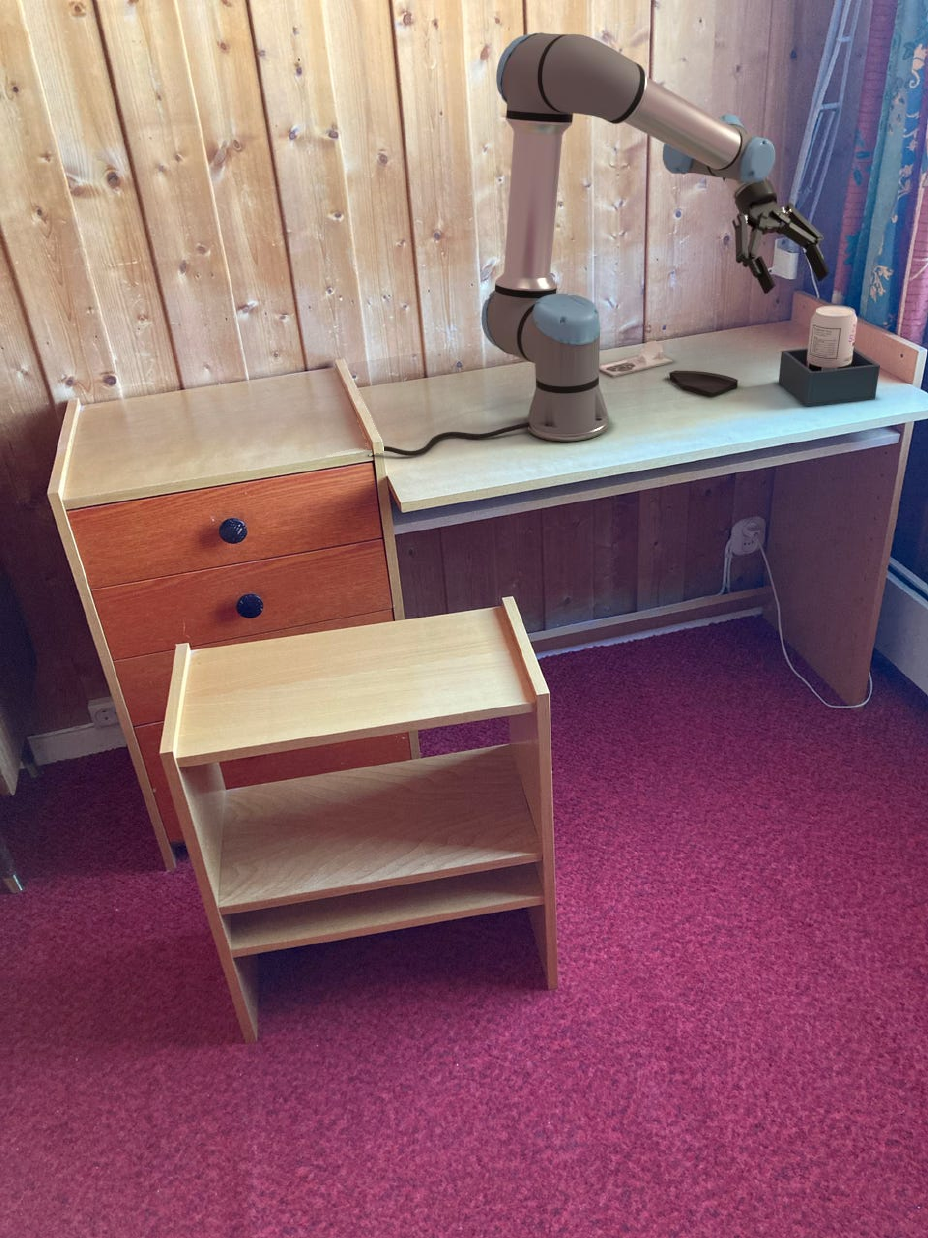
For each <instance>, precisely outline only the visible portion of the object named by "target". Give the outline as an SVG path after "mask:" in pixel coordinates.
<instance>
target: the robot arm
mask: <svg viewBox="0 0 928 1238" xmlns="http://www.w3.org/2000/svg"><path fill="white" fill-rule="evenodd" d="M495 73H496V75H495V76H496V77H495V80H496V81H495V82H496V88H497V91H498V94H499V95H500V96H501V98H502V101H503V102H504V103H505V104H506V113H505V121H506V122H507V124H508V125H509V126H510V127H511V128H512V131H513V138H512V149H511V150H512V153H511V166H510V178H509V179H510V182H509V193H508V206H507V222H506V237H505V238H506V239H505V250H504V264H503V272H502V274H501V275H499V276H498V277H497V278H496V279H495V280H494V281H495V282H494V290H493V291H491V293H490V294H488V298H487V299H485V301H484V303H483V306H482V308H481V317H480V319H481V328H482V330H483V333H484V335H485V337H486V339H487V340H488V341H489V342H490V344H492V345H493V346H494V347H496V348H498V349H499V350H501V351H502V352H503V353H505V354H509V355H511V356H515V357H517V358H520V359H522V360H525V361H527V362H529V363H532V364H534V365H535V366H534V367H535V368H534V369H535V389H534V390H535V391H534V394H533V396H532V399H531V403H530V407H529V410H528V414H527V421H526V422H522V423H518V424H515V425H510V426H505V427H502V428H499V429H496V430H492V431H488V432H482V433H470V432H462V431H446V432H442V433H439V434H436V435H435V436H434V437H432V438H431V439H430V441H429V442H428V443H427V444H426V445H425V446H423V447H422V448H419V449H415V450H407V449H401V448H397V447H394V446H387V445H383V446H384V451H383V452H388V453H393V454H397V455H401V456H405V457H414V456H418V455H423V454H424V453H426V452H428V451H429V450H430V449H431V448H432V447H433V446H434V445H435V443H436V442H438V441H439V440H443V439H445V438H453V437H454V438H457V437H458V438H464V439H472V440H473V439H474V440H477V439H478V440H479V439H481V440H482V439H488V438H492V437H496V436H499V435H502V434H506V433H509V432H513V431H517V430H522V429H525V428H527V430H528V433H530V434H532V435H533V436H534V437H537V438H539V439H542V440H546V441H550V442H551V441H552V442H560V443H561V442H563V443H564V442H565V443H567V442H579V441H585V440H589V439H593V438H595V437H598V436H600V435H602V434H604V433H605V432H606V431H607V430H608V429H609V424H610V418H609V412H608V409H607V406H606V403H605V400H604V396H603V394H602V391H601V388H600V370H599V366H600V352H601V351H600V349H601V347H600V346H601V345H600V343H601V324H600V313H599V309H598V307H597V306H596V304H595V303H594V302H593V301H591V300H590V299H589V298H586V297H583V296H581V295H577V294H568V293H557V290H558V284H557V282H556V281H555V280H554V279H553V277H552V276H551V268H552V267H551V266H552V254H553V243H554V233H555V224H556V223H555V222H556V212H557V211H556V210H557V199H558V190H559V189H558V188H559V179H560V165H561V155H562V146H563V145H562V143H563V135H564V134H565V132H566V131H567V130H568V129H569V128H570V127H571V126H572V125H573V120H574V114H576V115H583V116H590V117H595V118H599V119H603V120H604V121H606V122H608V123H610V124H612V125H620V124H623V123H625V124H627V125H628V126H630V127H632V128H635V129H636V130H638V131H640V132H642V133H644V134H646V135H647V136H650V137H652V138H654V139H656V140H658V141H660V142H661V143H663V148H662V161H663V164H664V167H665V169H666V170H667V171H668V172H669V173H671V174H675V175H679V174H680V175H684V176H685V175H686V174H696V175H702V176H707V177H708V176H709V177H715V178H722V180H723V182H724V185H725V186H726V188H727V190H728V192H729V194H730V196H731V198H732V199H733V200H734V204H735V207H736V208H737V211H738V214H736V216H735V217H734V218H733V219H732V221H731V223H732V226H733V229H734V235H735V236H734V238H735V239H734V241H735V242H734V244H735V245H734V246H735V262H736V263H737V264H742V266H743V267H744V268H747V267H748V268H749V269H750V272H751V274H752V276H753V277H754V278H755V279H756V280H757V281H758V283H759V286H760V287H761V290H762V292H763V294H764V295H767V294H769V293H770V292H771V291H772V290H773V289H774V288H775V287H776V283H775V281H774V279H773V276H771V273H770V271H769V268H768V267H767V265H766V263H765V261H764V258H763V257H762V255H760V256H758V253H759V252H758V251H759V249H760V245H761V241H762V236H765V235H767V234H773V233H774V234H775V233H776V234H778V235H783V236H785V237H786V238H787V239H789V240H791V241H792V242H793V243H795V244H797V245H798V246H800V247H801V248H802V249H804V250H806V251H805V252H804V255H805V257H806V260H807V261H808V264H809V266H810V267H811V269H812V271H813V273H814V275H815V277H816V279H817V281H818V282H822V281H823V280H824V279H825V278H826V277H827V276H828V275H829V274H830V273H831V272H830V270H829V269H828V268H829V267H828V266H827V264H826V262H825V256H824V254H823V253H822V251H821V249H820V247H819V244H820V243H822V241H823V240H824V239H825V237H824V235H823V234H822V233H821V232H819V230H818V229H817V228H816V227H815V226H814V225H812V224H811V223H810V222H809V221H808V220H807V219H806V218H805V217H804V216H803V215H802V214H801V212H799V211H798V210H797V208H796V207H795V205H794V203H793V202H788V203H787V204H786V206H782V207H781V206H780V204H778V194H777V192H776V189H775V188H774V186H773V184H772V182H771V180H769V178H770V177H769V175H770V174H771V172H772V170H773V168H774V165H775V162H776V150H775V147H774V144H773V142H772V141H771V140H769V139H767V138H764V137H761V136H759V135H756V136H752V135H748V132H747V129H746V128H745V127H744V126H743V124H742V122H741V121H740V119H739V117H738V116H737V115H735V114H733V113H726V114H724V115H723V116H718V117H716V116H715V115H713V114H711V113H710V112H708V111H706V110H704V109H703V108H702V107H699V106H698V105H696V104H694V103H693V102H691V101H688V100H687V99H686V98H684V97H682V96H681V95H678V94H677V93H675V92H674V91H672V90H670V89H669V88H667V87H665V86H663V85H661V84H659V83H658V82H656V81H654V80H653V79H651V78H649V77H647V73H646V70H645V69H644V67H643V66H642V65H640V64H639V63H638V62H635V61H634V60H632V59H630V58H629V57H628V56H626V55H624V54H622V53H621V52H619V51H617V50H616V49H614V48H613V47H611V46H609V45H607V44H605V43H603V42H602V41H600V40H597V39H596V38H593V37H591V36H588V35H584V34H581V33H579V34H578V33H546V32H533V33H527V34H523V35H520V36H518V37H516V38H515V39H513V40H512V41H511V42H510V43H509V45H508V46H506V47H505V49H504V50H503V52H502V53H501V56H500V57H499V59H498V64H497V67H496V72H495ZM782 223H783V224H782ZM748 226H749V227H750V228H751V230H750V234H749V237H748ZM748 238H749V239H748ZM757 256H758V257H757Z"/></svg>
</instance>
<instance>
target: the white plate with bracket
mask: <svg viewBox="0 0 928 1238" xmlns="http://www.w3.org/2000/svg"><path fill="white" fill-rule="evenodd" d="M663 349H664V347H663V344H661V343H658V341H657V340H650V341H646V342H645V343H644V346H643V347H641V348H640V349H639V351H638V354H637V356H634V357H630V358H625V359H622V360H617V361H614V362H609V363H605V364H599V372H602V373H604V374H607V375H608V376H610V377H612V378H615V377H619V376H625V375H628V374H631V373H636V372H639V371H644V370H648V369H652V368H656V367H659V366H663V365H668V364H673V360H672V359H670V358H668V357H666V356H665V354H664V351H663Z"/></svg>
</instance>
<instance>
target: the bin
mask: <svg viewBox="0 0 928 1238" xmlns="http://www.w3.org/2000/svg"><path fill="white" fill-rule="evenodd" d="M807 353H808V347H805V348H796V349H795V348H794V349H787V350H781V353H780V354H781V355H780V364H779V365H780V366H779V373H778V384H779V385H780V386H782V388H783V389H785V390H786V391H787V392H788V393H789V394H790V395H792V396H793V398H795V399H796V400H797V401H799V402H800V403H801V404H802V405H803V406H805V407H806V408H810V407H818V406H826V405H836V404H844V403H845V404H846V403H853V402H861V401H870V400H871V401H872V400H875V399H876V395H877V388H878V381H879V375H880V374H879V373H880V368H881V365H880V364H879V363H877V362H876V361H874V360H873V359H872V358H870V357H868V356H866V354H864V353H862V352H861V351H859V350H858V349H857V348H855V347H854V349H853V356H852V363H851V367H849V368H841V369H832V370H823V371H814V372H812V371H811V370H810V369H808V368H807V367H806V362H807Z"/></svg>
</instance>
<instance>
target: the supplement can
mask: <svg viewBox="0 0 928 1238" xmlns="http://www.w3.org/2000/svg"><path fill="white" fill-rule="evenodd" d="M857 326H858V317H857V315H856V310H855V309H854V308H852V307H850V306H845V305H824V306H820V307H817V308H816V310H815V312H814V313H813V315H812V317H811V319H810V326H809V337H808V344H807V348H808V353H807V362H806V367H807V368H808V369H810V370H811V371H812V372H814V371H823V370H832V369H841V368H849V367H851V363H852V356H853V349H854V348H855V342H856V333H857Z"/></svg>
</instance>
